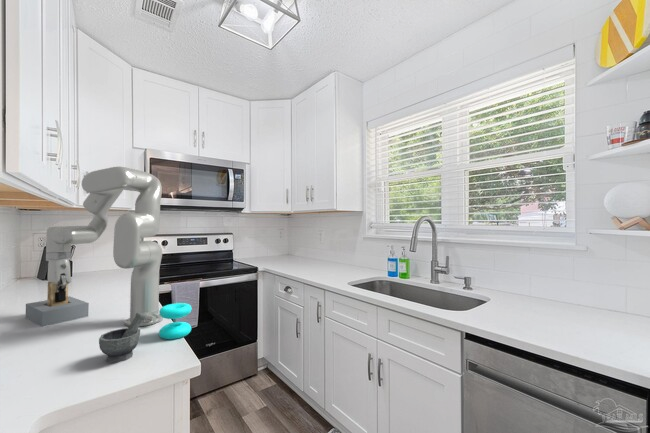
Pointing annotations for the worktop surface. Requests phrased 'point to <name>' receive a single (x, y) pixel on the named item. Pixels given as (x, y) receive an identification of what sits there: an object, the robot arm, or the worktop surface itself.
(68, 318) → the well block
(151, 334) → the worktop surface
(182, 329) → the donuts
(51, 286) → the oak post
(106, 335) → the mortar and pestle
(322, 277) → the worktop surface
